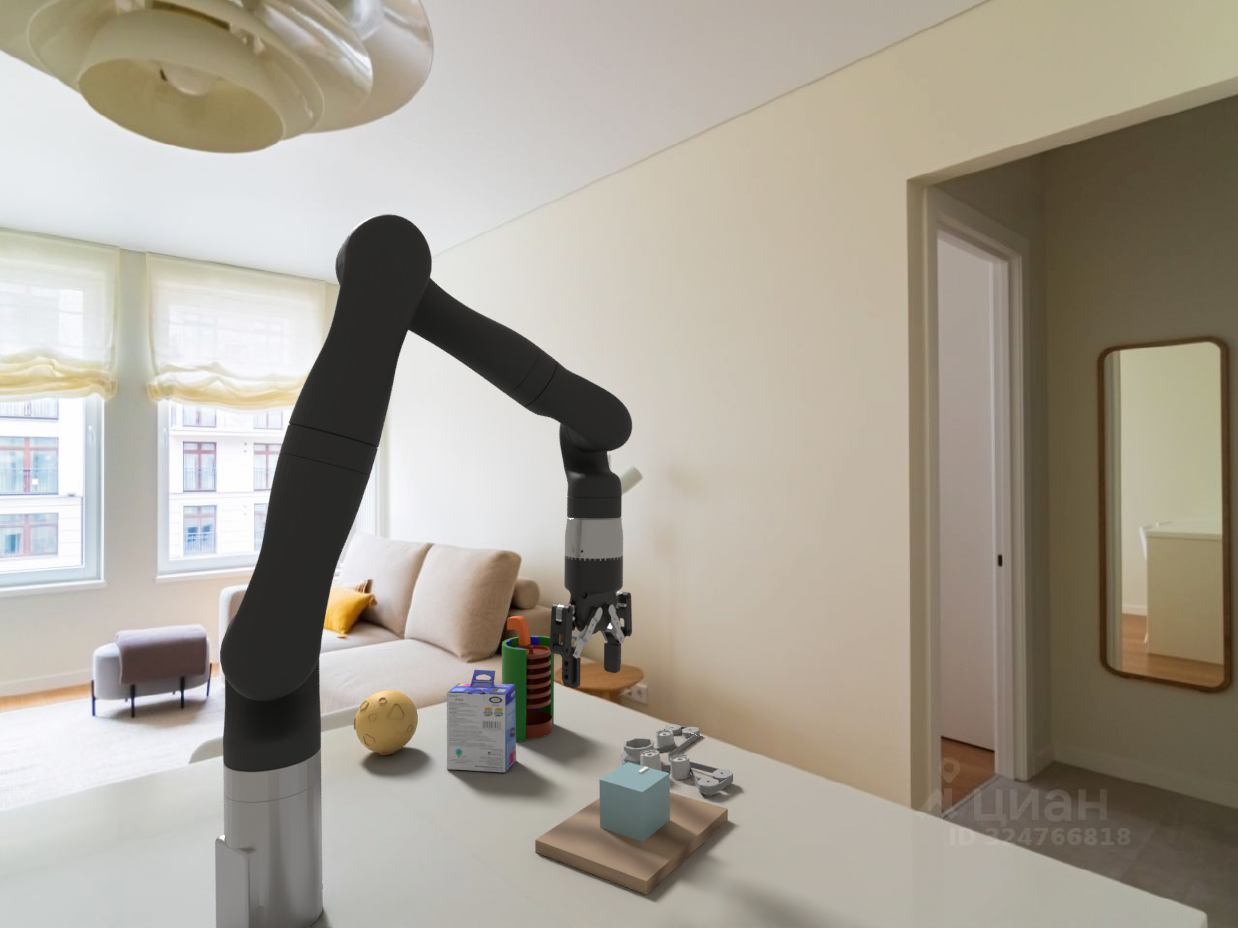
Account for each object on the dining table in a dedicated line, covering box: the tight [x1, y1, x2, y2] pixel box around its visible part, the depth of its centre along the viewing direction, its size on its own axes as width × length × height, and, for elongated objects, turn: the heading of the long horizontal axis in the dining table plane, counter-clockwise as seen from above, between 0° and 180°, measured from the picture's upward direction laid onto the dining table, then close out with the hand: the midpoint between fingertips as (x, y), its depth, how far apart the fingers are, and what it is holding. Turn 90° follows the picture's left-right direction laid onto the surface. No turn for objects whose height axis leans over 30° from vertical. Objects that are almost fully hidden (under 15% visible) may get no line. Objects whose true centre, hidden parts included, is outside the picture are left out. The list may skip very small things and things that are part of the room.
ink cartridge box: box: [446, 669, 517, 773], centre depth 115 cm, size 10×6×14 cm, turn 81°
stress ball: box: [353, 689, 419, 756], centre depth 120 cm, size 10×10×10 cm
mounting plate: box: [534, 791, 729, 896], centre depth 93 cm, size 20×16×2 cm
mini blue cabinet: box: [599, 762, 671, 842], centre depth 92 cm, size 6×6×6 cm
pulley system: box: [620, 723, 734, 797], centre depth 116 cm, size 27×5×15 cm
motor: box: [501, 615, 555, 742], centre depth 129 cm, size 10×9×20 cm
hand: (592, 678), depth 94 cm, fingers open, 8 cm apart
